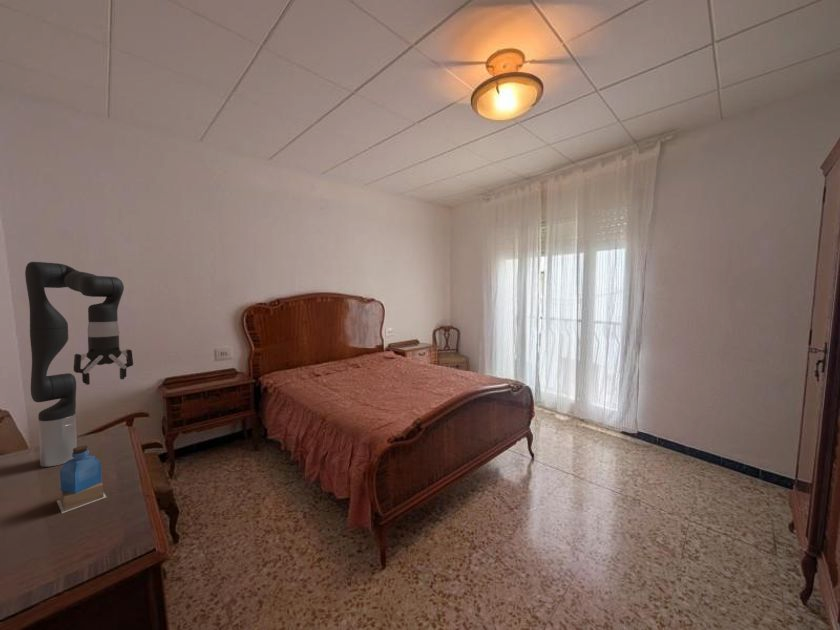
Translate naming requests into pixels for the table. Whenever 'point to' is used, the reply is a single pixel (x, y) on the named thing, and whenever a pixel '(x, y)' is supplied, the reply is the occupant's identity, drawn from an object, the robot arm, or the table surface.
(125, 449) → the table surface
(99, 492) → the walnut block
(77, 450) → the perfume bottle
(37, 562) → the table surface
